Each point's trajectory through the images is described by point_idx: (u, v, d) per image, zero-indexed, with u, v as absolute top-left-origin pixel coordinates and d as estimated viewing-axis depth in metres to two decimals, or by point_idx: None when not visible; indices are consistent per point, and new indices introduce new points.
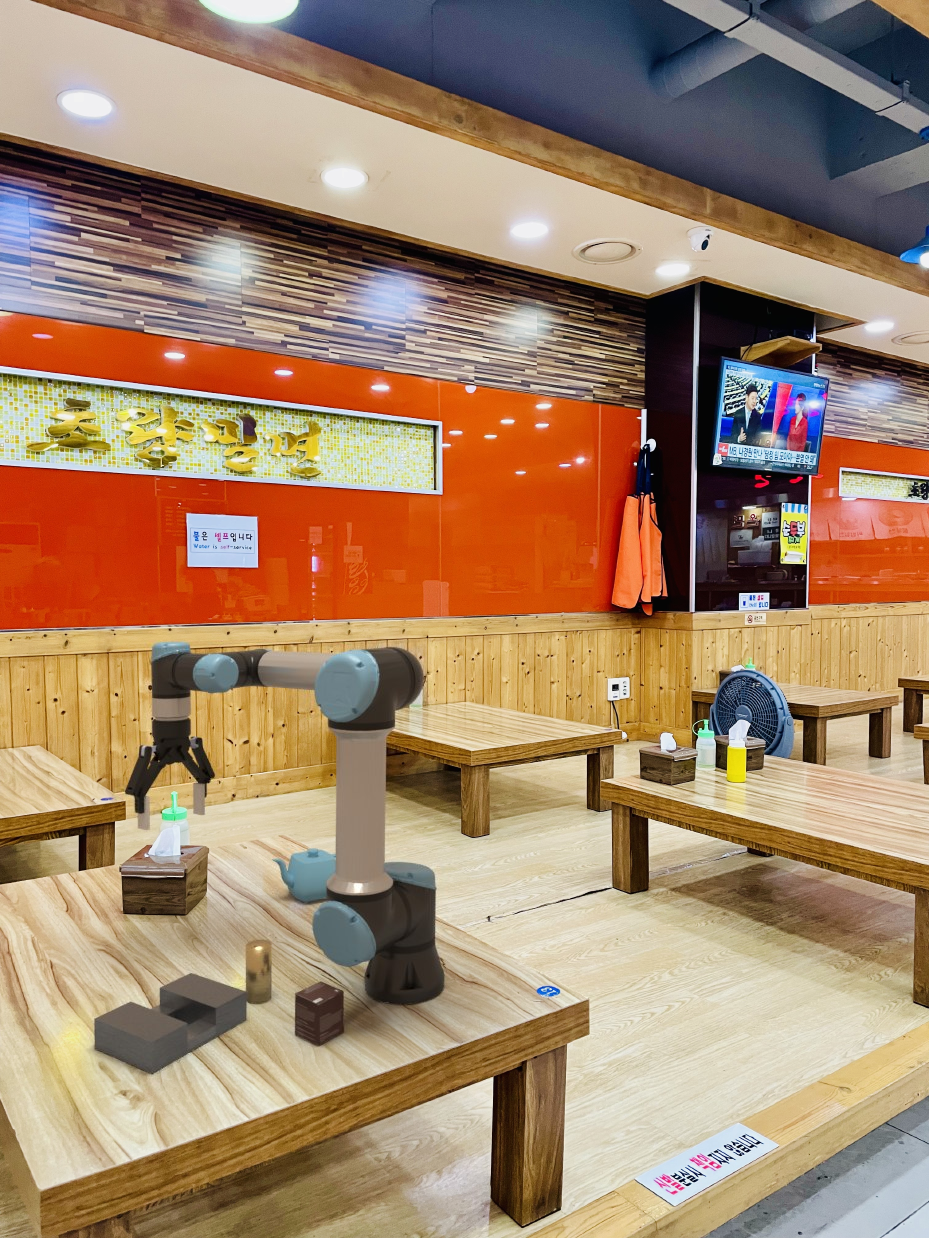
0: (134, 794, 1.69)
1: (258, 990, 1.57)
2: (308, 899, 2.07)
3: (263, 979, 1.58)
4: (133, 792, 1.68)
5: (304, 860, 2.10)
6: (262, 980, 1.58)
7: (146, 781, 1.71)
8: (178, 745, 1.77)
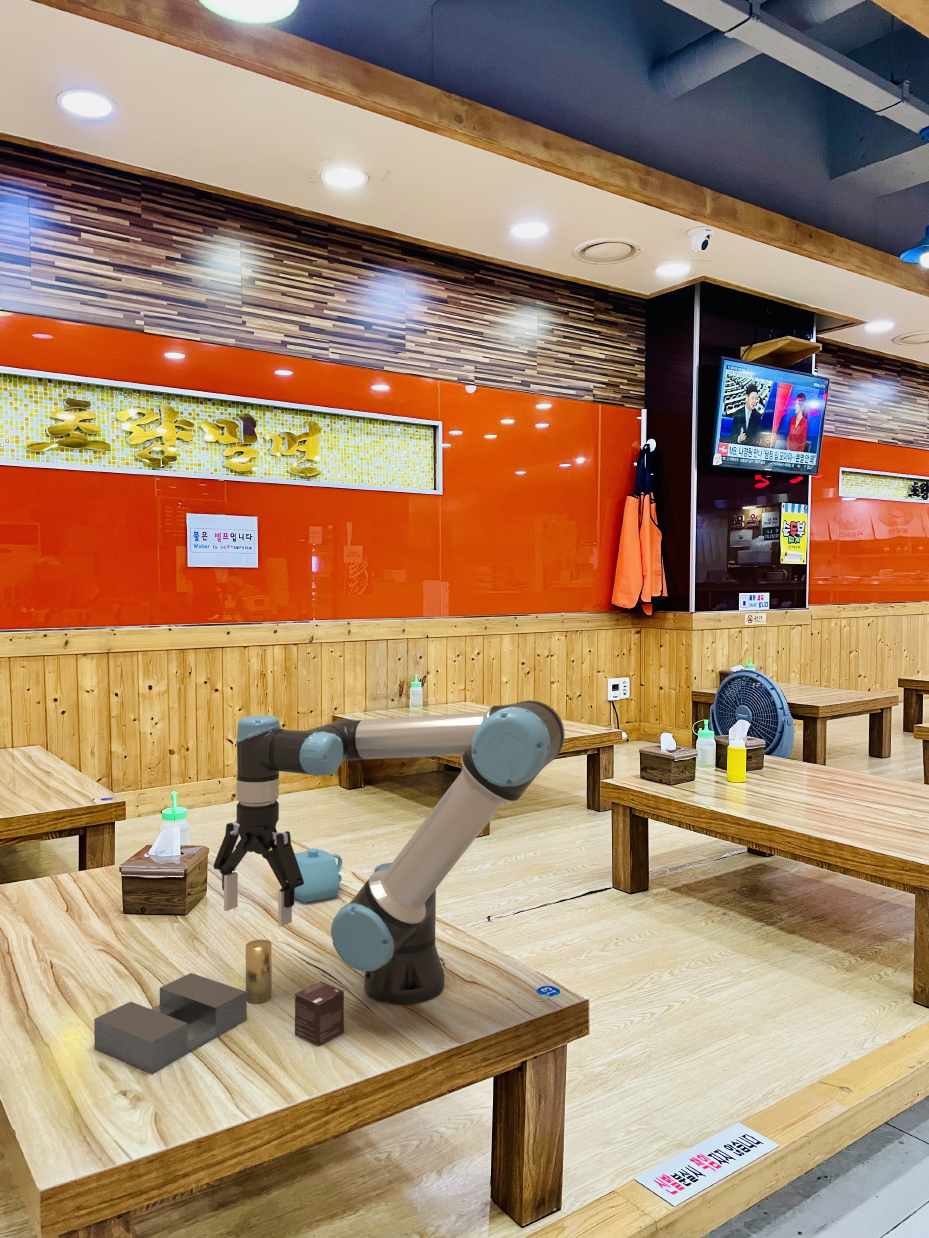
0: (214, 867, 1.63)
1: (258, 990, 1.57)
2: (308, 899, 2.07)
3: (263, 979, 1.58)
4: (214, 865, 1.63)
5: (304, 860, 2.10)
6: (262, 980, 1.58)
7: None
8: (256, 834, 1.57)
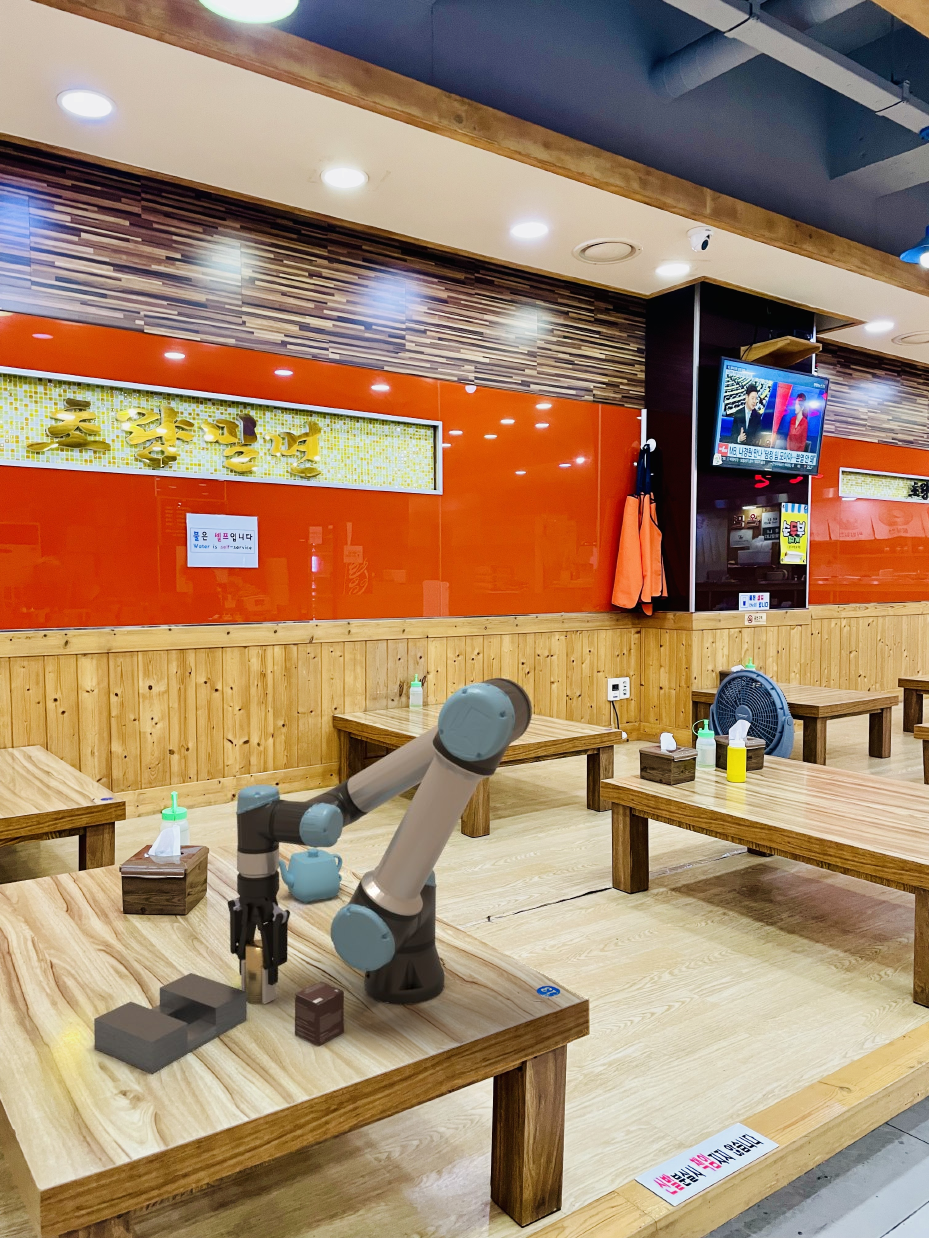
0: (232, 952, 1.61)
1: (258, 990, 1.57)
2: (308, 899, 2.07)
3: None
4: (231, 950, 1.61)
5: (304, 860, 2.10)
6: None
7: None
8: (258, 899, 1.58)
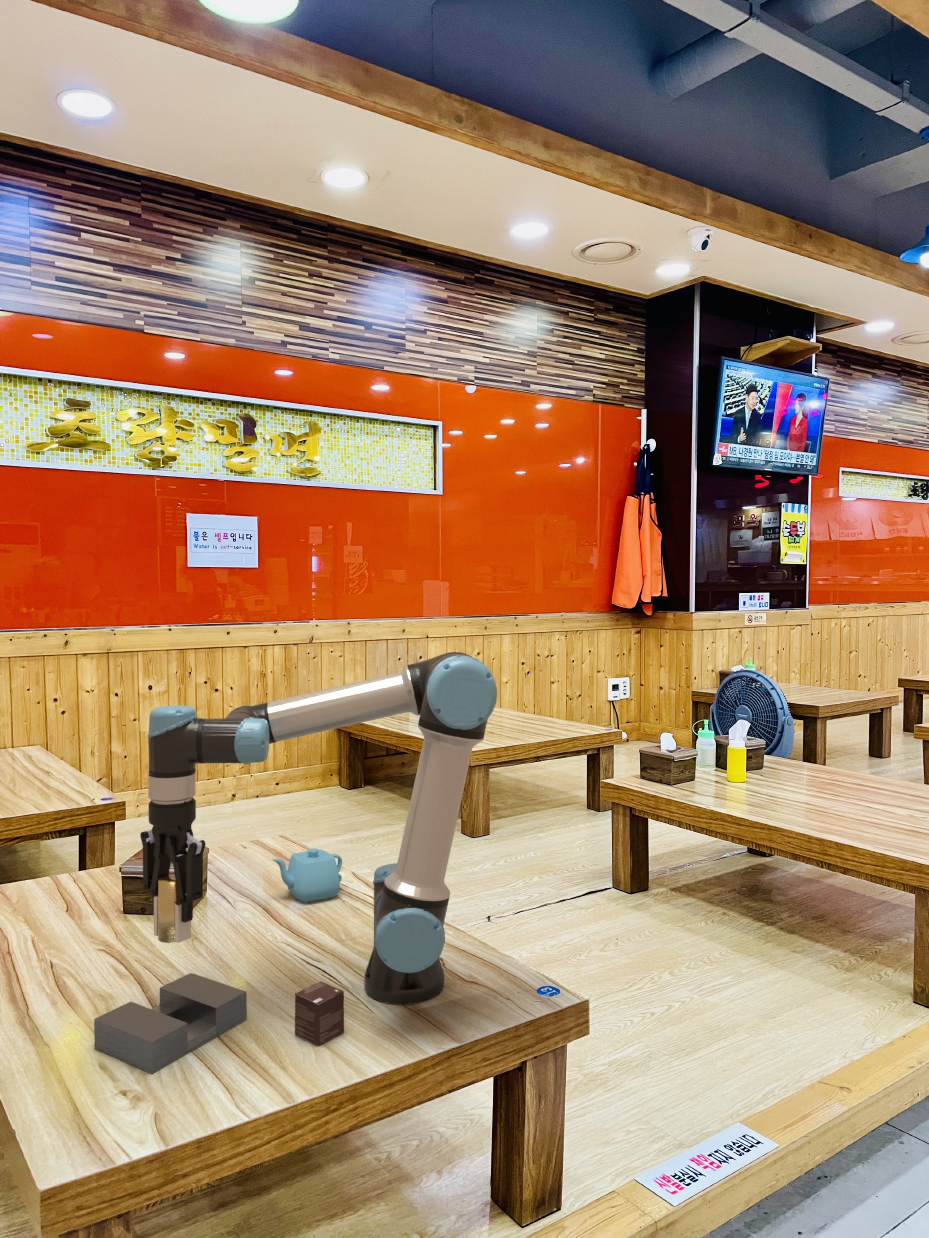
0: (144, 888, 1.48)
1: (170, 927, 1.44)
2: (308, 899, 2.07)
3: None
4: (143, 886, 1.48)
5: (304, 860, 2.10)
6: None
7: None
8: (171, 828, 1.44)
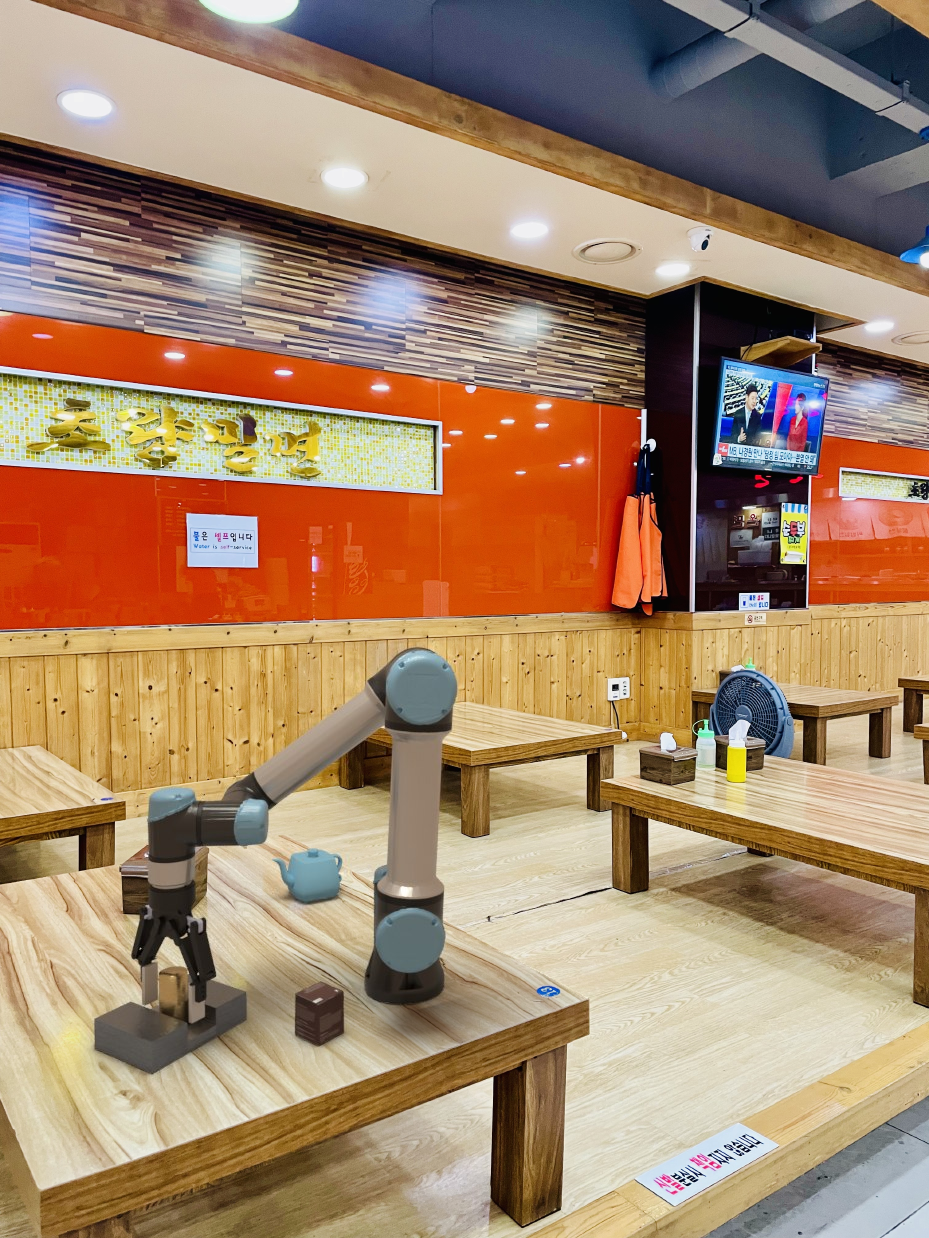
0: (132, 957, 1.50)
1: None
2: (308, 899, 2.07)
3: (177, 1010, 1.45)
4: (131, 955, 1.50)
5: (304, 860, 2.10)
6: (176, 1011, 1.45)
7: None
8: (170, 916, 1.45)
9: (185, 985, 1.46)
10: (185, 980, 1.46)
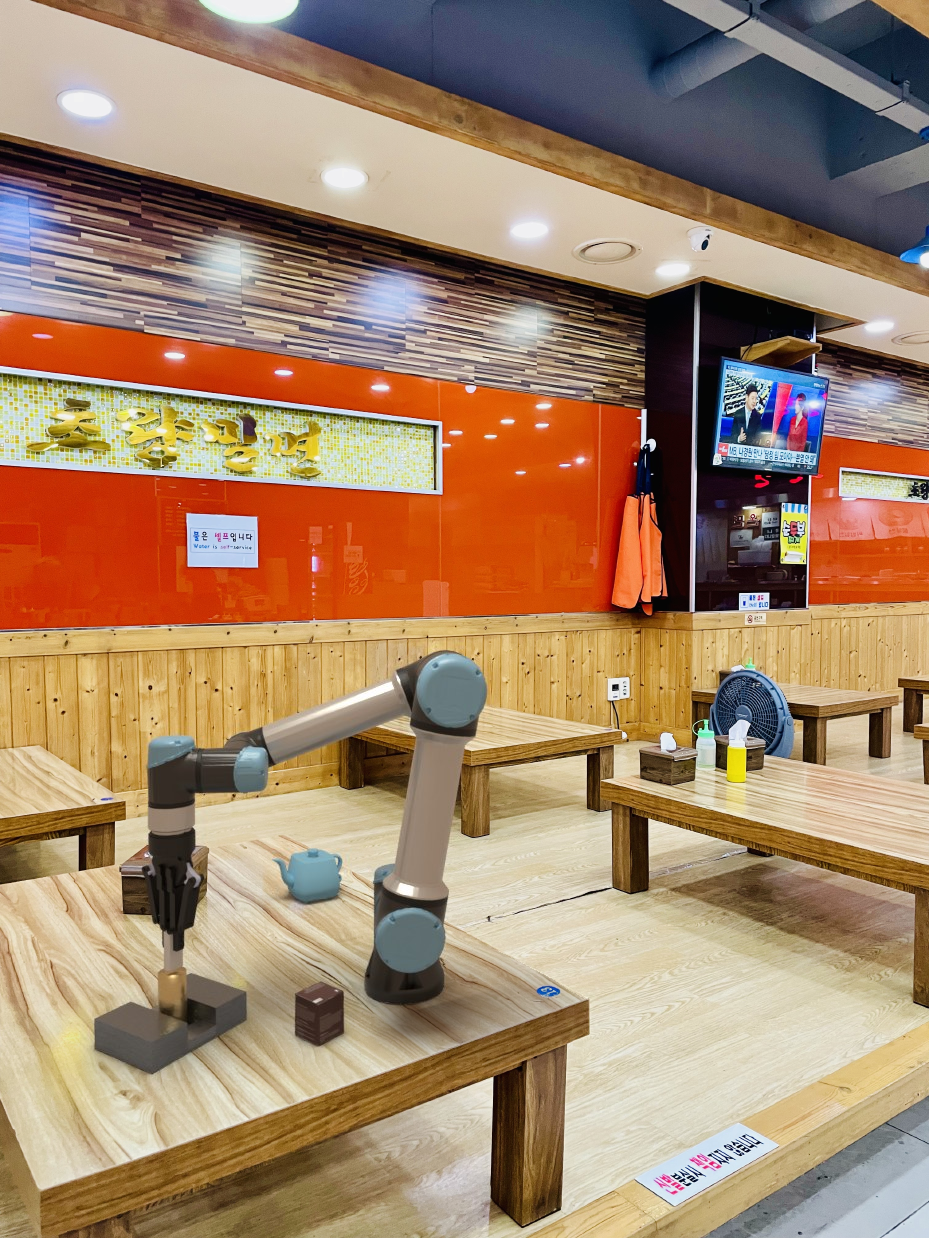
0: (154, 922, 1.47)
1: None
2: (308, 899, 2.07)
3: (176, 1010, 1.45)
4: (153, 920, 1.47)
5: (304, 860, 2.10)
6: (175, 1011, 1.45)
7: None
8: (172, 857, 1.44)
9: (184, 984, 1.46)
10: (184, 979, 1.46)
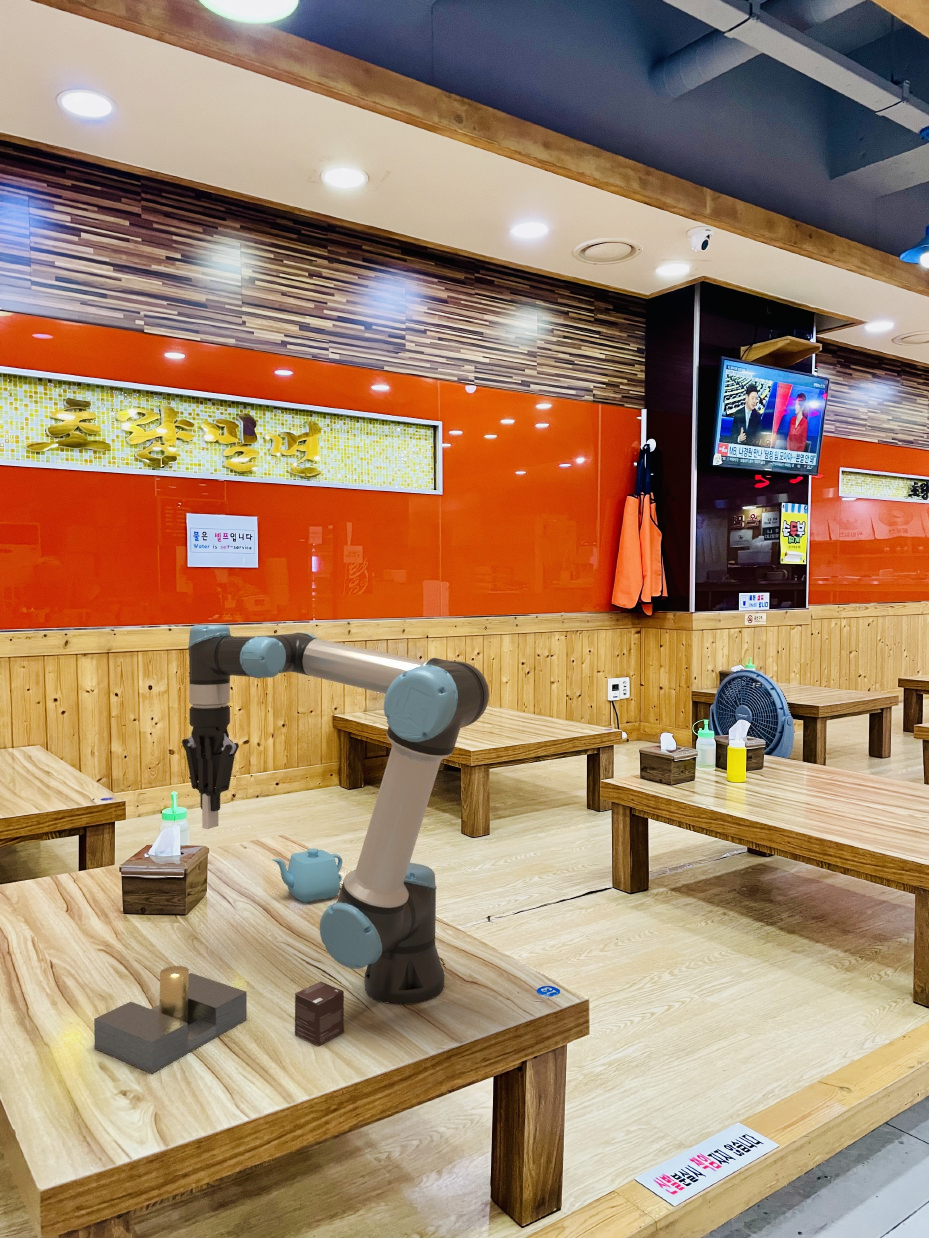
0: (193, 787, 1.68)
1: None
2: (308, 899, 2.07)
3: (177, 1010, 1.45)
4: (192, 786, 1.68)
5: (304, 860, 2.10)
6: (176, 1011, 1.45)
7: None
8: (210, 728, 1.65)
9: (186, 985, 1.46)
10: (186, 980, 1.46)
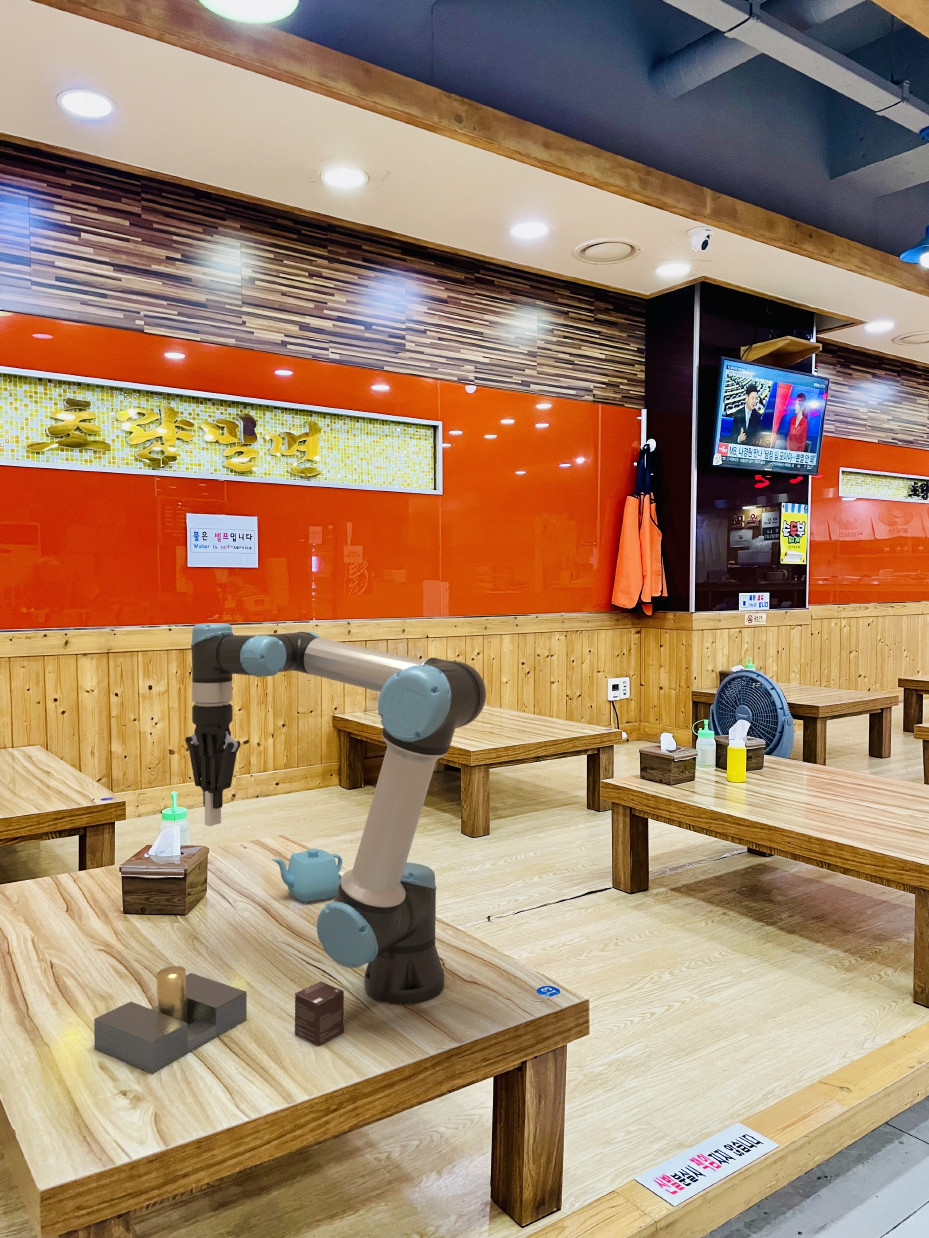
0: (196, 785, 1.69)
1: None
2: (308, 899, 2.07)
3: (175, 1010, 1.45)
4: (195, 783, 1.70)
5: (304, 860, 2.10)
6: (174, 1011, 1.45)
7: None
8: (213, 726, 1.67)
9: (183, 985, 1.46)
10: (183, 980, 1.46)
